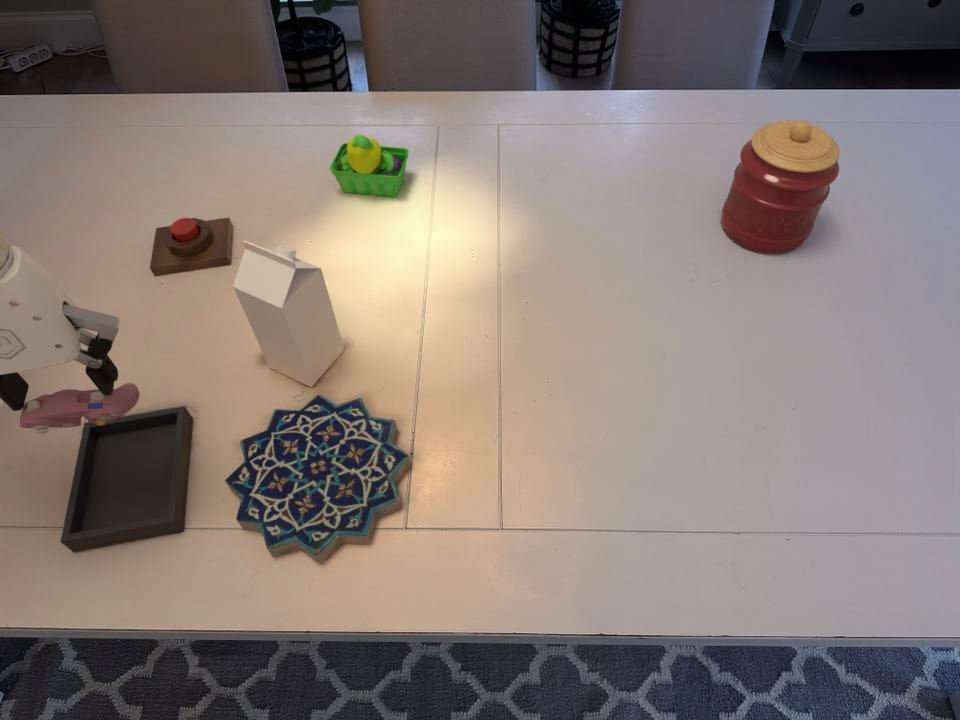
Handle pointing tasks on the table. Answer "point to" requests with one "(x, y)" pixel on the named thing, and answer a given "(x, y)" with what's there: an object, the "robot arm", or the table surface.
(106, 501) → the dock
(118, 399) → the pink toy car
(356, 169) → the fruit basket
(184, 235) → the power button
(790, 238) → the kitchen canister
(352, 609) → the table surface
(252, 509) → the decorative tile
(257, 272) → the milk carton
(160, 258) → the switch block
